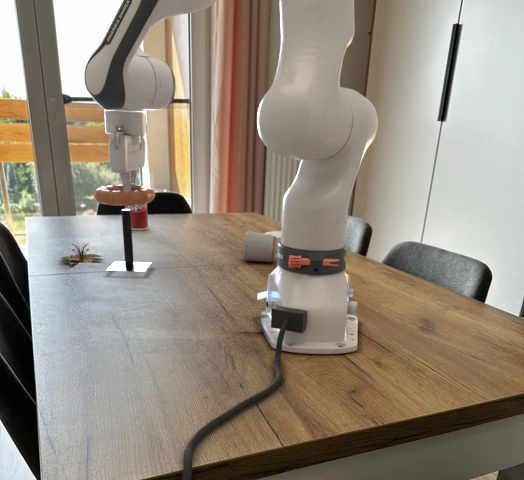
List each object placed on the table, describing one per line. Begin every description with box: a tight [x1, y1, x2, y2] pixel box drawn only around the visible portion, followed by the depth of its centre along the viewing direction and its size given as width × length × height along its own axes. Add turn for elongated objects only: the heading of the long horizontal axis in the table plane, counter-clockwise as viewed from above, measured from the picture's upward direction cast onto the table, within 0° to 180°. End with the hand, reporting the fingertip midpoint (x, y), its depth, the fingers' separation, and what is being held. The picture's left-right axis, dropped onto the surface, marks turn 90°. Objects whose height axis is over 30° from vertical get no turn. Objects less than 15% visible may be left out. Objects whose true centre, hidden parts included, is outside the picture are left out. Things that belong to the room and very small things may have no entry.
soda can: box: [124, 203, 149, 231], centre depth 173 cm, size 7×7×12 cm
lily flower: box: [59, 242, 105, 266], centre depth 129 cm, size 12×12×5 cm
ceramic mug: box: [243, 231, 277, 263], centre depth 137 cm, size 11×8×8 cm
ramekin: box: [264, 230, 281, 252], centre depth 153 cm, size 9×9×4 cm
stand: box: [105, 208, 153, 273], centre depth 119 cm, size 9×9×14 cm
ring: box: [93, 184, 156, 207], centre depth 115 cm, size 13×13×3 cm
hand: (129, 190), depth 119 cm, fingers closed on ring, 3 cm apart
